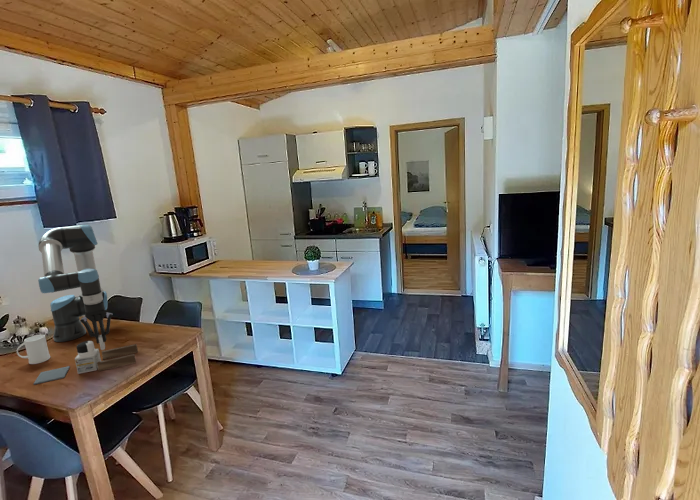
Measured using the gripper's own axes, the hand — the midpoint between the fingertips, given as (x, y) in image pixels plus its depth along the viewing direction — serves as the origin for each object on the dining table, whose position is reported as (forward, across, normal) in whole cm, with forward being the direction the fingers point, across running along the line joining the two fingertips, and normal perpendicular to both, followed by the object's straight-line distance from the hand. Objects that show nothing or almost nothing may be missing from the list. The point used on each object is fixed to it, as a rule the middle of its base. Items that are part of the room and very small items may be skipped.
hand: (103, 348), depth 178 cm
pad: (+8, -21, -1) cm, 22 cm away
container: (+8, -6, -2) cm, 10 cm away
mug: (+9, -33, +22) cm, 41 cm away
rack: (+8, +6, -1) cm, 10 cm away
